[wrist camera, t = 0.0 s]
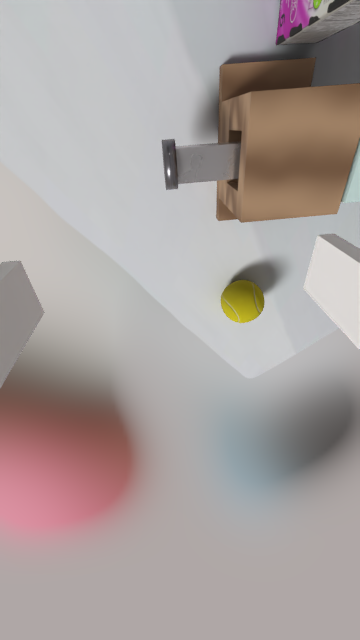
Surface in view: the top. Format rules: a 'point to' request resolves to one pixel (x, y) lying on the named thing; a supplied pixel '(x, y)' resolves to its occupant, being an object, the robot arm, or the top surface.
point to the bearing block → (285, 140)
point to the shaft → (200, 162)
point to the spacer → (353, 180)
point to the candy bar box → (314, 19)
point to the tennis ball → (242, 301)
